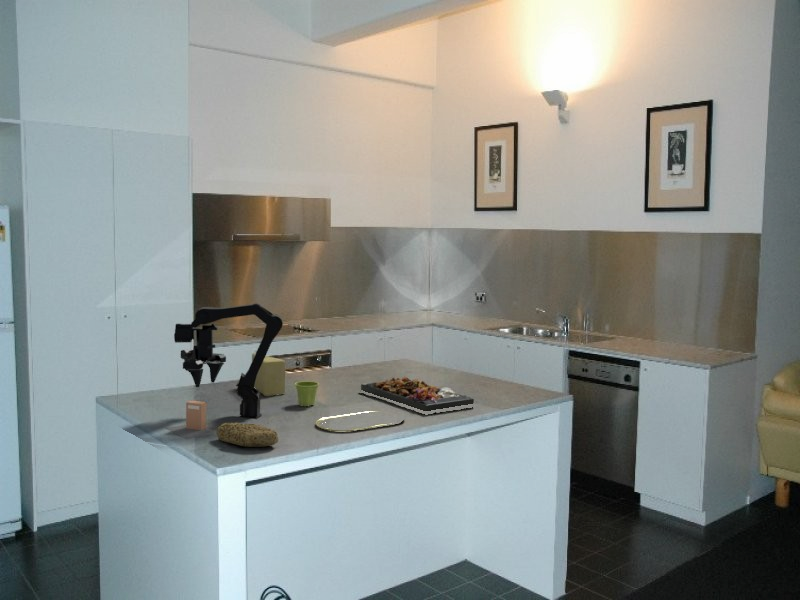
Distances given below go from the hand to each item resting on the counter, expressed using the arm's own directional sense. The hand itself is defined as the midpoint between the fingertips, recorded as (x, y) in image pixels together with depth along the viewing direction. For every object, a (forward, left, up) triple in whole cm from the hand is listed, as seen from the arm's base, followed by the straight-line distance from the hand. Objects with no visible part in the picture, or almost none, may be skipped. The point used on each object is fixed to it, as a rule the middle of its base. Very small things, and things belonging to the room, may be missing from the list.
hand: (205, 384), depth 268 cm
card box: (-4, +17, -11) cm, 21 cm away
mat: (-4, +20, -12) cm, 24 cm away
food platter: (-70, -51, -13) cm, 87 cm away
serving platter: (-57, -8, -13) cm, 58 cm away
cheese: (-4, -49, -12) cm, 51 cm away
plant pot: (-29, -29, -12) cm, 43 cm away
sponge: (-28, +29, -12) cm, 42 cm away
